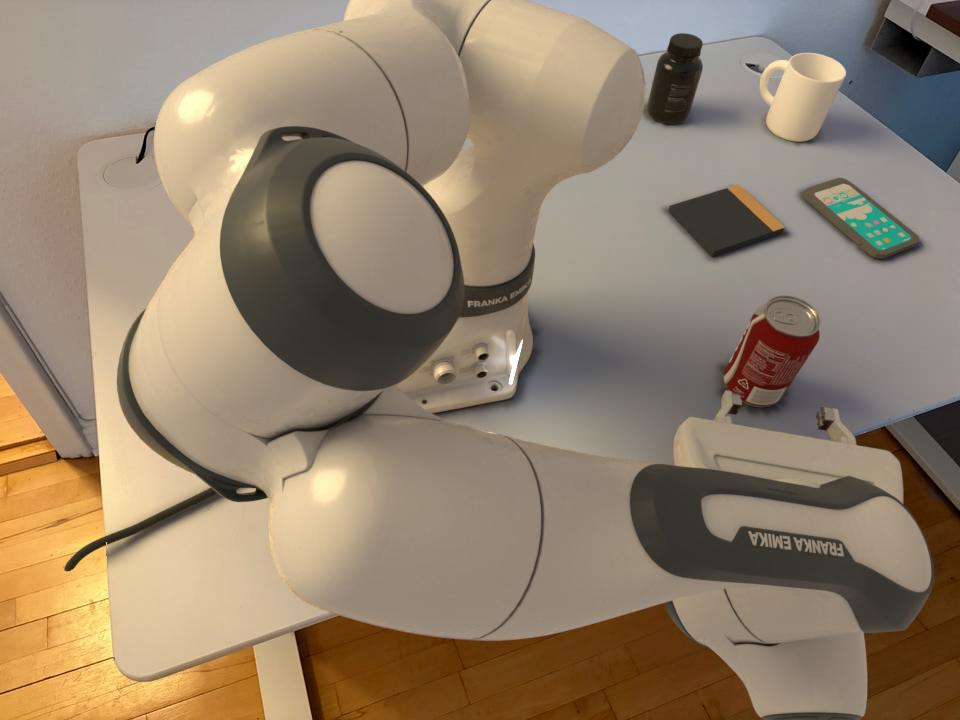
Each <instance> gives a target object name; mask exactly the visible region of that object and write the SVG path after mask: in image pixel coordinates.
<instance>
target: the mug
mask: <svg viewBox="0 0 960 720" xmlns="http://www.w3.org/2000/svg"><path fill="white" fill-rule="evenodd" d="M776 71H783V75H782V77H781V79H780V82H779V85H778V87H777V89H776V92H775V94H774V95H773V94H772V93H771V91H770V89H769V83H770V78H771V76H772V75H773V74H774V73H775V72H776ZM846 76H847V70H846V68H845V66H843V64H842V63H841V62H839V61H837V60H836V59H835V58H832V57H830V56H828V55H824V54H821V53H817V52H816V53H814V52H801V53H796V54H794V55H792V56H791V57H790V58H789V60H788V59H778V60H775V61H773V62H771V63H770V64H768V65H767V66H766V68H765V69H764V70H763V72H762V73H761V76H760V80H759V93H760V96H761V98H762V100H763V102H765V103H766V104H767V105H768V106H769V110H768V112H767V114H766V118H765V124H766V127H767V128H768V130H769V131H770V132H771V133H772V134H773V135H775V136H776V137H778V138H780V139H782V140H784V141H789V142H799V143H801V142H807V141H811V140H812V139H814V138H815V137H816V136H817V135H818V134H819V132H820V130H821V129H822V126H823V124H824V122H825V120H826V118H827V117H828V114H829V111H830V109H831V108H832V105H833V103H834V101H835V99H836V97H837V95H838V93H839V91H840V89H841V87H842V85H843V82H844V80H845V78H846Z"/></svg>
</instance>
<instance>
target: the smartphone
mask: <svg viewBox="0 0 960 720" xmlns="http://www.w3.org/2000/svg"><path fill="white" fill-rule="evenodd" d="M802 198H803V199H804V200H805V201H806V202H807V203H808V204H810V206H812V207H813V208H814V209H815V210H816V211H818V212H819V213H820V214H821V215H822V216H823V217H825V218H826V219H827V220H828V221H829V222H830V223H831V224H832V225H834V226H835V227H836V228H837V229H838V230H840V231H841V232H842V233H843V234H844V235H845V236H847V237H848V238H849V239H850V240H851V241H852V242H853V243H854V244H856V245H857V246H858V247H859V248H861V249H862V250H863V251H864V252H865V253H866V254H868V255H869V256H870V257H872V258H873V259H877V260H884V259H887V258H889V257H892V256H894V255H896V254H899V253H902V252H904V251H907V250H910V249H912V248H915V247H916V246H917V244H918V243H919V242H920V236H918V234H917V233H915V232H914V231H913V230H912V229H911V228H909V227H908V226H906V225H905V224H904V223H903V222H901V220H899V219H898V218H896V217H895V216H894V215H893V214H892V213H891V212H889V211H888V210H887V209H885V208H884V207H883V206H882V205H880V204H879V203H878V202H876V201H875V199H873V198H872V197H871V196H869V195H868V194H867V193H865V192H864V191H863V190H862V189H860V188H859V187H858V186H856V185H855V184H854V183H853V182H851V181H849V180H848V179H847V178H843V177H836V178H834V179H831V180H828V181H824V182H821V183H819V184H816V185H813V186H809V187H807V188H806V189H805V190H804V193H803V195H802Z"/></svg>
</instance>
